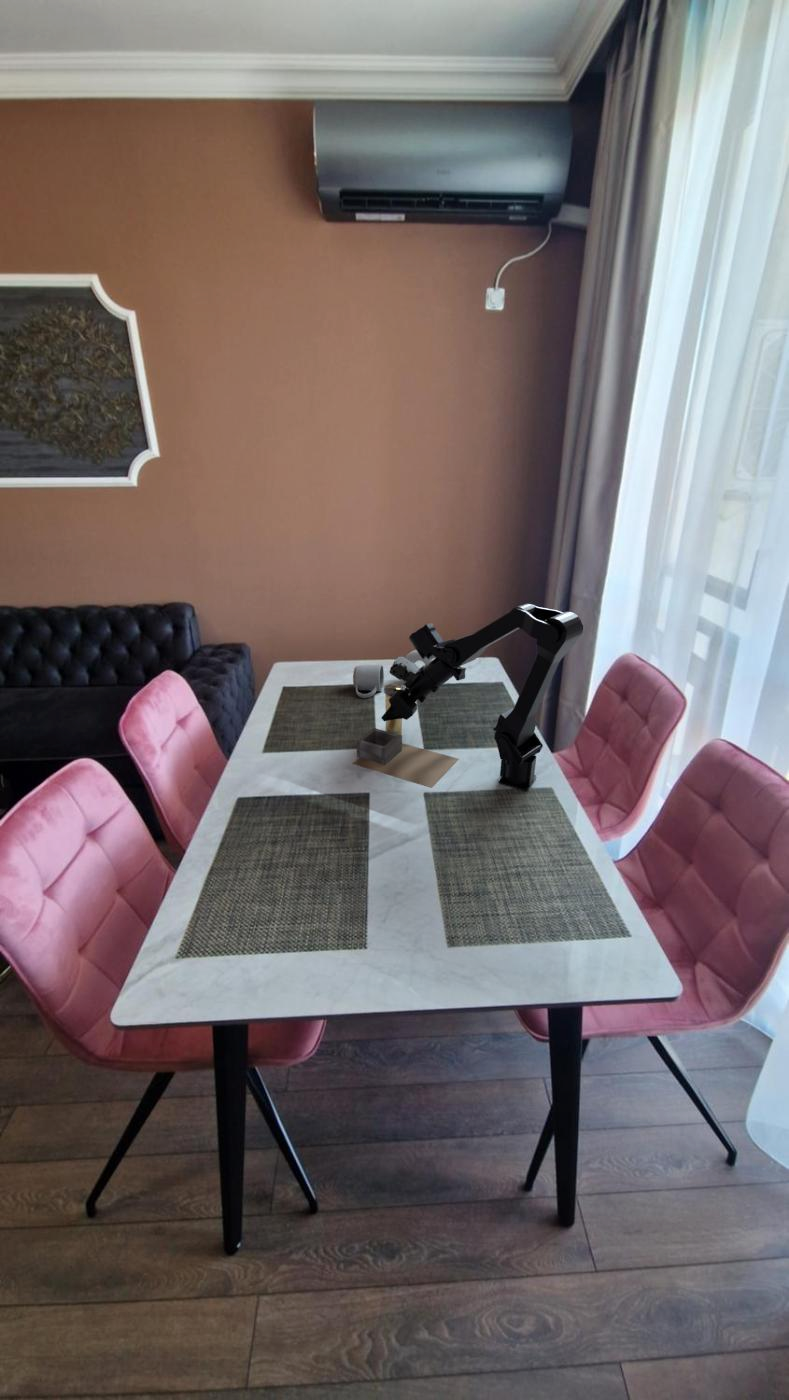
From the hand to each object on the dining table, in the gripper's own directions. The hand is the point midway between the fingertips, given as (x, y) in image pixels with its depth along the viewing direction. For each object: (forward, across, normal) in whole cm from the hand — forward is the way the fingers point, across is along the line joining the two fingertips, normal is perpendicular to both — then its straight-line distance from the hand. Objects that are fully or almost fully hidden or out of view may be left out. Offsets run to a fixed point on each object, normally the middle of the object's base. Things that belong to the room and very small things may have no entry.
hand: (389, 711), depth 147 cm
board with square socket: (0, +11, +11) cm, 16 cm away
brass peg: (+4, 0, +6) cm, 8 cm away
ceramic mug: (+17, -26, -6) cm, 31 cm away
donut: (+8, -38, +2) cm, 40 cm away
